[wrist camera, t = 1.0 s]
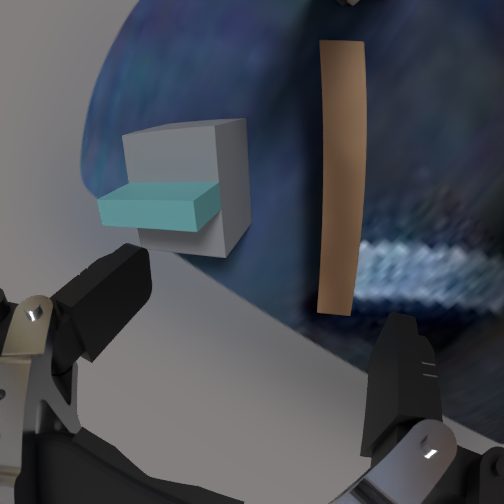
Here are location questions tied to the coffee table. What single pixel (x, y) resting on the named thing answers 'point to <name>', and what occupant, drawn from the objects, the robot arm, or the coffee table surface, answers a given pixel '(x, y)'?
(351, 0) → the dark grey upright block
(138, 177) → the balance stand
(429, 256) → the coffee table surface
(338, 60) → the walnut beam
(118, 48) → the coffee table surface
